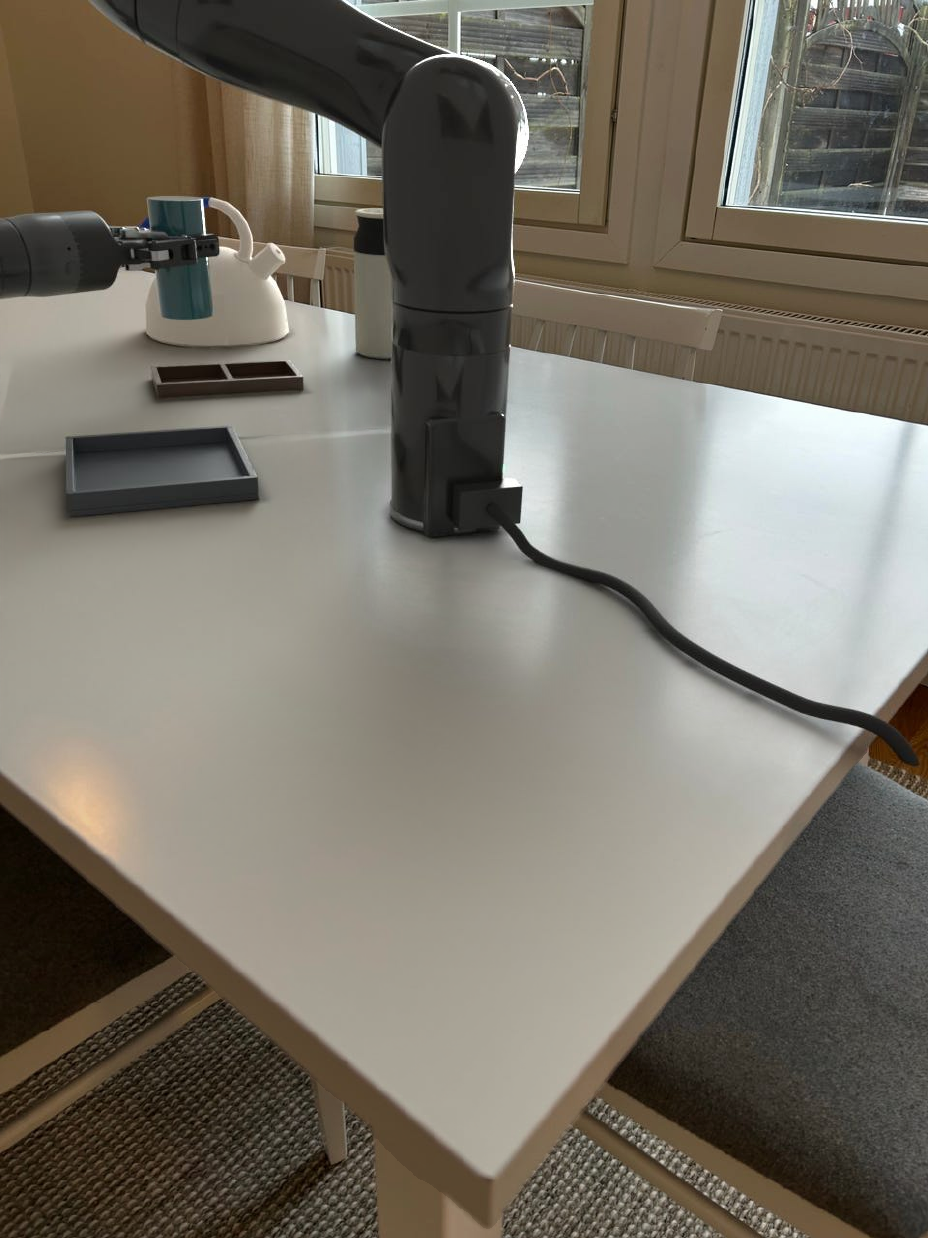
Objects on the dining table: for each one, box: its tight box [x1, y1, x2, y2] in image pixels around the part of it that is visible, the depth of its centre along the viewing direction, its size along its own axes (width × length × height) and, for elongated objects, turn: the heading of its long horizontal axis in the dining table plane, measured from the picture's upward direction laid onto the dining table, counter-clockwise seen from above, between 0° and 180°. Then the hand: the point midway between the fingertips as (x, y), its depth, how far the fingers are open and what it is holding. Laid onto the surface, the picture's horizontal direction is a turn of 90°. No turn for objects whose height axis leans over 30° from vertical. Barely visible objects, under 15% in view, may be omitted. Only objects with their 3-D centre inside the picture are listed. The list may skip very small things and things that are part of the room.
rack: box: [150, 359, 305, 399], centre depth 112 cm, size 8×16×2 cm, turn 110°
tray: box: [65, 424, 260, 518], centre depth 85 cm, size 15×15×2 cm
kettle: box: [138, 196, 290, 348], centre depth 133 cm, size 20×21×18 cm
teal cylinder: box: [146, 195, 214, 320], centre depth 104 cm, size 6×6×12 cm
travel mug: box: [353, 207, 392, 360], centre depth 126 cm, size 8×8×18 cm
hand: (198, 241), depth 105 cm, fingers closed on teal cylinder, 6 cm apart
